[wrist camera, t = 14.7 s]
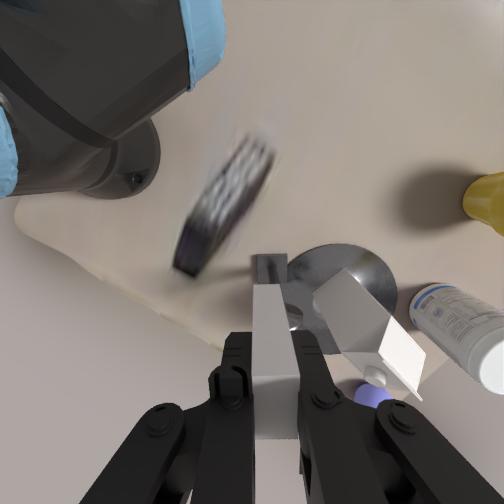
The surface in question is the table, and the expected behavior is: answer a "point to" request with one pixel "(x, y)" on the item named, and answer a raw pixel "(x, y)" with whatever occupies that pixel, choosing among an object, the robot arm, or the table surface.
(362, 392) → the sphere
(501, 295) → the table surface
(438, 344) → the supplement tub
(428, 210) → the table surface
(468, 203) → the plant pot
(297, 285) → the turntable
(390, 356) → the milk carton
